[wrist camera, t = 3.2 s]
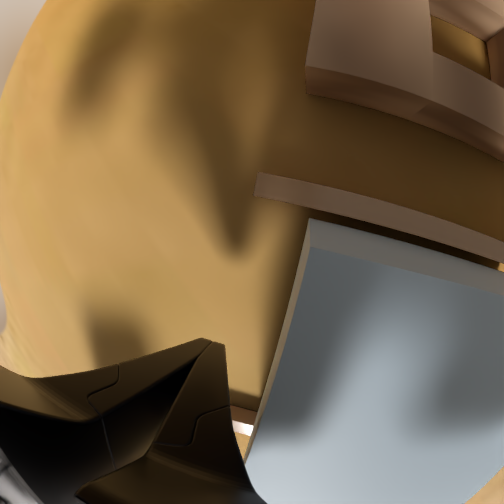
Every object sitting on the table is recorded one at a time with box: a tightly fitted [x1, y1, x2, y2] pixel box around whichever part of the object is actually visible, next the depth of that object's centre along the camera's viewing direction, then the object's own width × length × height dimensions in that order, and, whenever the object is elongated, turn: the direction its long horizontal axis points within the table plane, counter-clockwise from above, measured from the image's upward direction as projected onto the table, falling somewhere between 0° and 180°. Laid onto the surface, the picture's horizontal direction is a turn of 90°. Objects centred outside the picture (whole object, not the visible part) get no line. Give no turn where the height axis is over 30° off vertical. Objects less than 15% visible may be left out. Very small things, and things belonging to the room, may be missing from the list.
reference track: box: [230, 172, 504, 436], centre depth 9 cm, size 20×11×1 cm, turn 79°
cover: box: [243, 218, 504, 504], centre depth 7 cm, size 9×9×6 cm
